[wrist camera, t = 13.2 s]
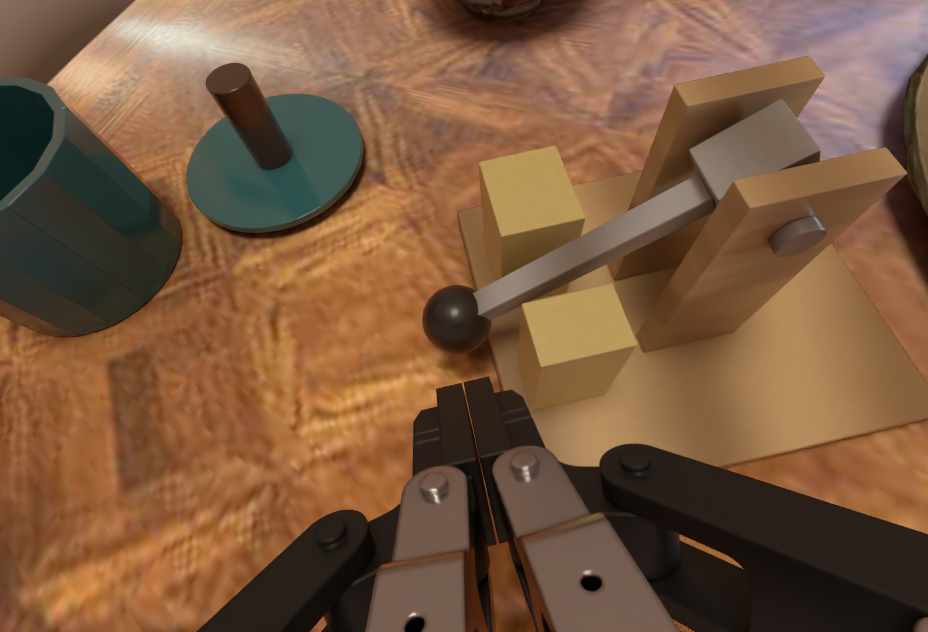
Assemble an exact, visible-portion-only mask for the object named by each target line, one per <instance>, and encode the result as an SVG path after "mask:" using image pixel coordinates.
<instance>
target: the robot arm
mask: <svg viewBox="0 0 928 632" xmlns="http://www.w3.org/2000/svg"><path fill="white" fill-rule="evenodd" d="M464 386H465V391H466V396H467V401H468V405H469V410H470V415H471V420H472V425H473V429H474V434H475V438H474V434H473V429H472V425H471V421H470V417H469V412H468V408H467V404H466V400H465V395H464V391H463V387H462V383H459V384H455V385H451V386H446V387H442V388H438V389H436V393H437V406H438V407H434V408H429V409H425V410H421V411H420V413H419V415H418V416H417V418H416V419H415V421H414V424H413V434H414V436H413V445H414V446H413V477H412V478H411V479H410V480H409V481H408V482H407V484H406V485H405V487H404V489H403V492H402V498H401V503H400V504H399V505H398V506H397V507H395V508H394V509H393V510H391V511H389V512H388V513H386V514H384V515H382V516H380V517H378V518H376V519H374V520H372V521H369V522H367V519H366V517H365V516H364V515H363V514H362V513H360V512H358V511H355V510H341V511H337V512H334V513H331V514H328V515H326V516H324V517H322V518H321V519H319V520H318V521H316V522H315V523H313V524H312V525H311V526H310V527H309V528H308V529H307V530H306V531H304V532H303V533H302V534H301V535H300V536H299V537H298V538H297V539H296V540H295V541H294V542H293V543H292V544H290V545H289V546H288V547H287V548H286V549H285V550H284V551H283V552H282V553H281V554H280V555H279V556H278V557H276V558H275V559H274V560H273V561H272V562H271V563H270V564H269V565H268V566H267V567H266V568H265V569H264V570H263V571H261V572H260V573H259V574H258V575H257V576H256V577H255V578H254V579H253V580H252V581H251V582H250V583H249V584H247V585H246V586H245V587H244V588H243V589H242V590H241V591H240V592H239V593H238V594H237V595H236V596H235V597H233V598H232V599H231V600H230V601H229V602H228V603H227V604H226V605H225V606H224V607H223V608H222V609H221V610H219V611H218V612H217V613H216V614H215V615H214V616H213V617H212V618H211V619H210V620H209V621H208V622H207V623H205V624H204V625H203V626H202V627H201V628H200V629H199V630H198V631H197V632H310V631H311V629H312V628H313V627H314V626H315V625H316V624H317V623H318V621H319V620H320V619H321V618H322V617H323V616H324V618H325V620H326V623H327V625H326V627H325V628H324V629H323V630H322V631H321V632H496V625H495V614H494V602H493V591H492V580H491V575H490V571H489V566H490V558H489V553H488V547H487V546H492V545H496V539H495V534H494V529H493V524H492V520H491V515H490V510H489V505H488V500H487V495H486V490H485V486H484V481H483V476H482V471H483V475H484V480H485V484H486V488H487V492H488V497H489V501H490V505H491V509H492V514H493V518H494V522H495V526H496V531H497V535H498V539H499V543H503V542H507V541H508V544H509V548H510V552H511V556H512V561H513V565H514V570H515V574H516V577H517V580H518V583H519V586H520V589H521V592H522V595H523V598H524V601H525V604H526V607H527V610H528V613H529V616H530V619H531V622H532V625H533V628H534V631H535V632H682V631H680V630H679V629H678V627H677V626H676V624H675V623H674V621H673V620H672V619H674V620H676V621H678V622H679V623H681V624H683V625H684V626H686V627H688V628H690V629H691V630H693V631H695V632H928V534H925V533H922V532H919V531H916V530H913V529H910V528H906V527H903V526H900V525H897V524H894V523H891V522H888V521H885V520H881V519H878V518H875V517H872V516H869V515H866V514H863V513H860V512H856V511H853V510H850V509H847V508H844V507H841V506H838V505H835V504H831V503H828V502H825V501H822V500H819V499H816V498H813V497H810V496H806V495H803V494H800V493H797V492H794V491H791V490H788V489H785V488H781V487H778V486H775V485H772V484H769V483H766V482H763V481H760V480H756V479H753V478H750V477H747V476H744V475H741V474H738V473H735V472H731V471H728V470H725V469H722V468H719V467H716V466H713V465H710V464H706V463H703V462H700V461H697V460H694V459H691V458H688V457H684V456H681V455H678V454H675V453H672V452H669V451H666V450H663V449H659V448H656V447H653V446H650V445H645V444H636V443H633V444H623V445H619V446H616V447H614V448H611V449H610V450H608V451H607V452H606V453H604V454H603V456H602V457H601V459H600V462H599V466H573V465H568V464H565V463H562V462H560V461H558V459H557V458H556V456H555V455H554V454H553V453H552V452H551V451H549V450H548V449H546V447H545V445H544V442H543V440H542V438H541V436H540V434H539V431H538V429H537V427H536V425H535V422H534V420H533V418H532V416H531V414H530V411H529V409H528V407H527V405H526V402H525V400H524V398H523V396H521V395H520V394H518V393H517V392H515V391H513V390H512V389H510V390H506V391H502V392H498V393H494V391H493V388H492V385H491V382H490V379H489V377H485V378H480V379H476V380H472V381H467V382H464ZM475 439H476V443H475ZM476 444H477V447H476ZM477 449H478V452H477ZM478 453H479V456H478ZM479 458H480V461H479ZM480 462H481V466H480ZM481 467H482V471H481ZM679 534H681V535H683V536H685V537H687V538H690V539H692V540H694V541H696V542H699V543H701V544H703V545H705V546H708V547H710V548H712V549H715V550H717V551H719V552H721V553H724V554H726V555H728V556H729V557H731V558H732V559H734V560H735V561H736V562H737V563H739V564H740V565H741V567H742V568H743V569H742V568H739V567H737V566H735V565H733V564H731V563H728V562H726V561H724V560H722V559H719V558H717V557H715V556H713V555H711V554H708V553H706V552H704V551H702V550H700V549H697V548H695V547H693V546H691V545H689V544H686V543H684V542H682V541H680V539H679Z"/></svg>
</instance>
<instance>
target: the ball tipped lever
mask: <svg viewBox="0 0 928 632" xmlns="http://www.w3.org/2000/svg"><path fill="white" fill-rule="evenodd" d="M689 153H690V156H691V159H692V162H693V165H694V168H695V171H696V174H697V175H695V176H693V177H691V178H690V179H688V180H686V181H684V182H682V183H680V184H678V185H676V186H674V187H673V188H671V189H669V190H667V191H665V192H663V193H661V194H659V195H657V196H656V197H654V198H652V199H650V200H648V201H646V202H644V203H642V204H640V205H639V206H637V207H635V208H633V209H631V210H629V211H627V212H625V213H623V214H622V215H620V216H618V217H616V218H614V219H612V220H610V221H608V222H606V223H605V224H603V225H601V226H599V227H597V228H595V229H593V230H591V231H589V232H588V233H586V234H584V235H582V236H580V237H578V238H576V239H574V240H572V241H571V242H569V243H567V244H565V245H563V246H561V247H559V248H557V249H555V250H553V251H552V252H550V253H548V254H546V255H544V256H542V257H540V258H538V259H536V260H535V261H533V262H531V263H529V264H527V265H525V266H523V267H521V268H519V269H518V270H516V271H514V272H512V273H510V274H508V275H506V276H504V277H502V278H501V279H499V280H497V281H495V282H493V283H491V284H489V285H487V286H485V287H484V288H482V289H480V290H478V291H475V290H474V289H472V288H469V287H466V286H461V285H452V286H448V287H444V288H442V289H440V290H439V291H437V292H436V293H434V294H433V295H432V296H431V298H430V299H429V300H428V302H427V304H426V306H425V308H424V311H423V318H422V322H423V328H424V332H425V334H426V336H427V338H428V339H429V341H430V342H431V343H432V344H433V345H434V346H435V347H436V348H438V349H439V350H441V351H444V352H446V353H450V354H464V353H468V352H471V351H473V350H474V349H476V348H478V347H479V346H480V345H481V344H482V343H483V342H484V341H485V339H486V338H487V336H488V334H489V331H490V328H491V321H492V320H494V319H496V318H498V317H500V316H502V315H504V314H506V313H508V312H510V311H512V310H514V309H516V308H518V307H520V306H522V304H523V303H527V302H530V301H533V300H535V299H537V298H539V297H541V296H543V295H545V294H547V293H549V292H551V291H553V290H555V289H557V288H559V287H561V286H563V285H565V284H567V283H569V282H572V281H574V280H576V279H578V278H580V277H582V276H584V275H586V274H588V273H590V272H592V271H594V270H596V269H598V268H600V267H602V266H604V265H606V264H608V263H611V262H613V261H615V260H617V259H619V258H621V257H623V256H625V255H627V254H629V253H631V252H633V251H635V250H637V249H639V248H641V247H643V246H645V245H647V244H649V243H652V242H654V241H656V240H658V239H660V238H662V237H664V236H666V235H668V234H670V233H672V232H674V231H676V230H678V229H680V228H682V227H684V226H686V225H688V224H691V223H693V222H695V221H697V220H699V219H701V218H703V217H705V216H707V215H709V214H711V213H713V212H714V210H715V209H716V207H717V206H718V204H719V203H720V201H721V199H722V198H723V196H724V195H725V193H726V191H727V190H728V188H729V187H730V185H731V184H732V182H733V181H734V180H739V179H743V178H748V177H752V176H757V175H761V174H766V173H770V172H775V171H779V170H784V169H788V168H793V167H797V166H802V165H807V164H811V163H816V162H820V148H819V147H818V145H817V144H816V143H815V141H814V140H813V139H812V137H811V136H810V135H809V133H808V132H807V131H806V129H805V128H804V127H803V125H802V124H801V123H800V121H799V120H798V119H797V117H796V116H795V115H794V113H793V112H792V111H791V109H790V108H789V107H788V106H787V104H786V103H785V102H784V100H783V99H779V100H778V101H776V102H774V103H772V104H770V105H769V106H767V107H765V108H763V109H761V110H760V111H758V112H756V113H754V114H752V115H751V116H749V117H747V118H745V119H743V120H742V121H740V122H738V123H736V124H734V125H733V126H731V127H729V128H727V129H725V130H724V131H722V132H720V133H718V134H716V135H715V136H713V137H711V138H709V139H707V140H706V141H704V142H702V143H700V144H698V145H697V146H695V147H693V148H691V149H690V150H689Z"/></svg>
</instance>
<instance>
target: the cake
mask: <svg viewBox="0 0 928 632" xmlns="http://www.w3.org/2000/svg"><path fill="white" fill-rule="evenodd" d="M904 138H905V151H906V164H907V177H908V180H909V182H910V184H911V186H912V187H913V189H914V191H915V193H916V195H917V197H918V199H919V201H920V203H921V205H922V207H923V209H924V210H925V212H926V214H927V216H928V55H927V56H926V58H925V59H924V60H923V62H922V63H921V64H920V66H919V67H918V68H917V69H916V71H915V72H914V73H913V75H912V76H911V77H910V79H909V82H908V87H907V92H906V96H905V101H904Z"/></svg>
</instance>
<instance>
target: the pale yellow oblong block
mask: <svg viewBox="0 0 928 632" xmlns="http://www.w3.org/2000/svg"><path fill="white" fill-rule="evenodd" d="M479 174H480V189H481V204H482V218H483V233H484V244H485V248H486V251H487V255H488V258H489V262H490V266H491V269H492V273H493V276H494V280H495V281H497V280H499V279H501V278H502V277H504V276H506V275H508V274H510V273H512V272H514V271H516V270H518V269H519V268H521V267H523V266H525V265H527V264H529V263H531V262H533V261H535V260H536V259H538V258H540V257H542V256H544V255H546V254H548V253H550V252H552V251H553V250H555V249H557V248H559V247H561V246H563V245H565V244H567V243H569V242H571V241H572V240H574V239H576V238H578V237H580V236H581V234H582V230H583V226H584V222H585V215H584V213H583V210H582V208H581V206H580V203H579V201H578V198H577V196H576V193H575V191H574V188H573V186H572V184H571V181H570V179H569V176H568V174H567V171H566V169H565V167H564V164H563V162H562V159H561V157H560V154H559V152H558V149H557V147H556V146H550V147H545V148H541V149H536V150H532V151H527V152H522V153H518V154H513V155H509V156H504V157H499V158H495V159H490V160H486V161H481V162H479ZM568 286H569V283H567V284H565V285H563V286H561V287H559V288H557V289H555V290H553V291H551V292H549V293H547V294H545V295H543V296H541V297H545V296H549V295H554V294H558V293H563V292H567V290H568ZM539 298H540V297H539Z"/></svg>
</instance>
